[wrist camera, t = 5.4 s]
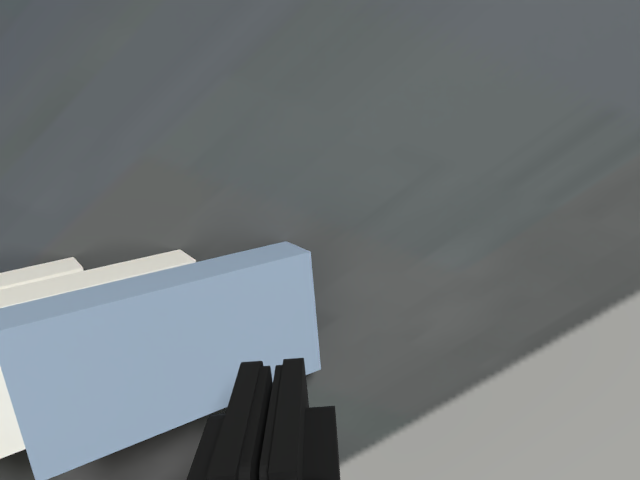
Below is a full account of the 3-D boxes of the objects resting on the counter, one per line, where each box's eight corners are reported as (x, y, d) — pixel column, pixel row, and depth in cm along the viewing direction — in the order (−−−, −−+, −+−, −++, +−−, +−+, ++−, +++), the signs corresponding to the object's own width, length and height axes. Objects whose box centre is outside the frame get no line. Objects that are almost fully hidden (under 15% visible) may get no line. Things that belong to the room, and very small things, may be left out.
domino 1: (195, 260, 17) (-173, 349, 12) (214, 376, 18) (-109, 501, 13) (180, 249, 19) (-151, 323, 14) (198, 356, 20) (-96, 461, 15)
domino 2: (310, 251, 17) (-10, 333, 12) (320, 369, 18) (36, 483, 14) (286, 241, 19) (-5, 309, 14) (297, 349, 20) (36, 445, 15)
